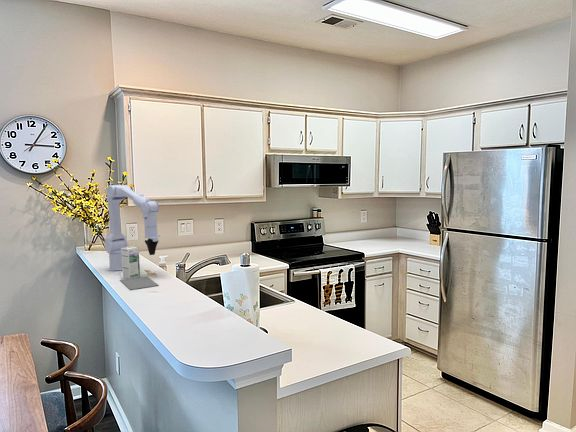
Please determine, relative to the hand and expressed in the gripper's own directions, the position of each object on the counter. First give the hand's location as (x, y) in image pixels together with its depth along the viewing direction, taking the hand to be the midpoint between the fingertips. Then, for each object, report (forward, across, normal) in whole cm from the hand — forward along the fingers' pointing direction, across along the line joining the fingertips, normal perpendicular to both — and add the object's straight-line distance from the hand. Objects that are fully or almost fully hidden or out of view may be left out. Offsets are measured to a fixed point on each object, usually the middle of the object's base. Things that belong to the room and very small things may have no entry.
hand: (152, 254), depth 199 cm
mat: (+10, -10, +9) cm, 17 cm away
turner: (+10, +8, 0) cm, 13 cm away
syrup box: (+11, +4, +9) cm, 14 cm away
